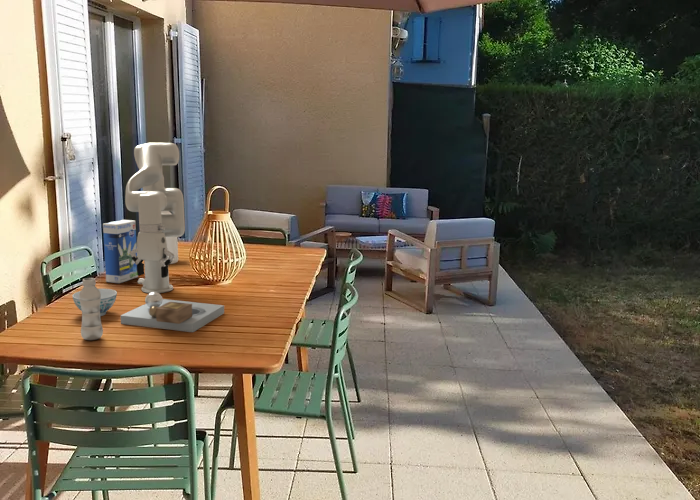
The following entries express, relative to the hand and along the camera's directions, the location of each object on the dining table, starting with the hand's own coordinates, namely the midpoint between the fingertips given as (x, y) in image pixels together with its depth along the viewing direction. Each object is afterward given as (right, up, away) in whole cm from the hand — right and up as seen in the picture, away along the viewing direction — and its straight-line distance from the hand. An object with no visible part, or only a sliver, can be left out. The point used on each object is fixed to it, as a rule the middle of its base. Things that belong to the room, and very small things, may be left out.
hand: (152, 275), depth 230 cm
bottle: (-22, +3, +90) cm, 93 cm away
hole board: (+7, -15, +1) cm, 17 cm away
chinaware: (-22, -14, +4) cm, 27 cm away
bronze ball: (+3, -12, -8) cm, 14 cm away
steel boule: (0, -9, +2) cm, 9 cm away
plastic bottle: (-13, -20, -22) cm, 32 cm away
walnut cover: (+11, -14, -10) cm, 20 cm away
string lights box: (-30, -4, +55) cm, 62 cm away
